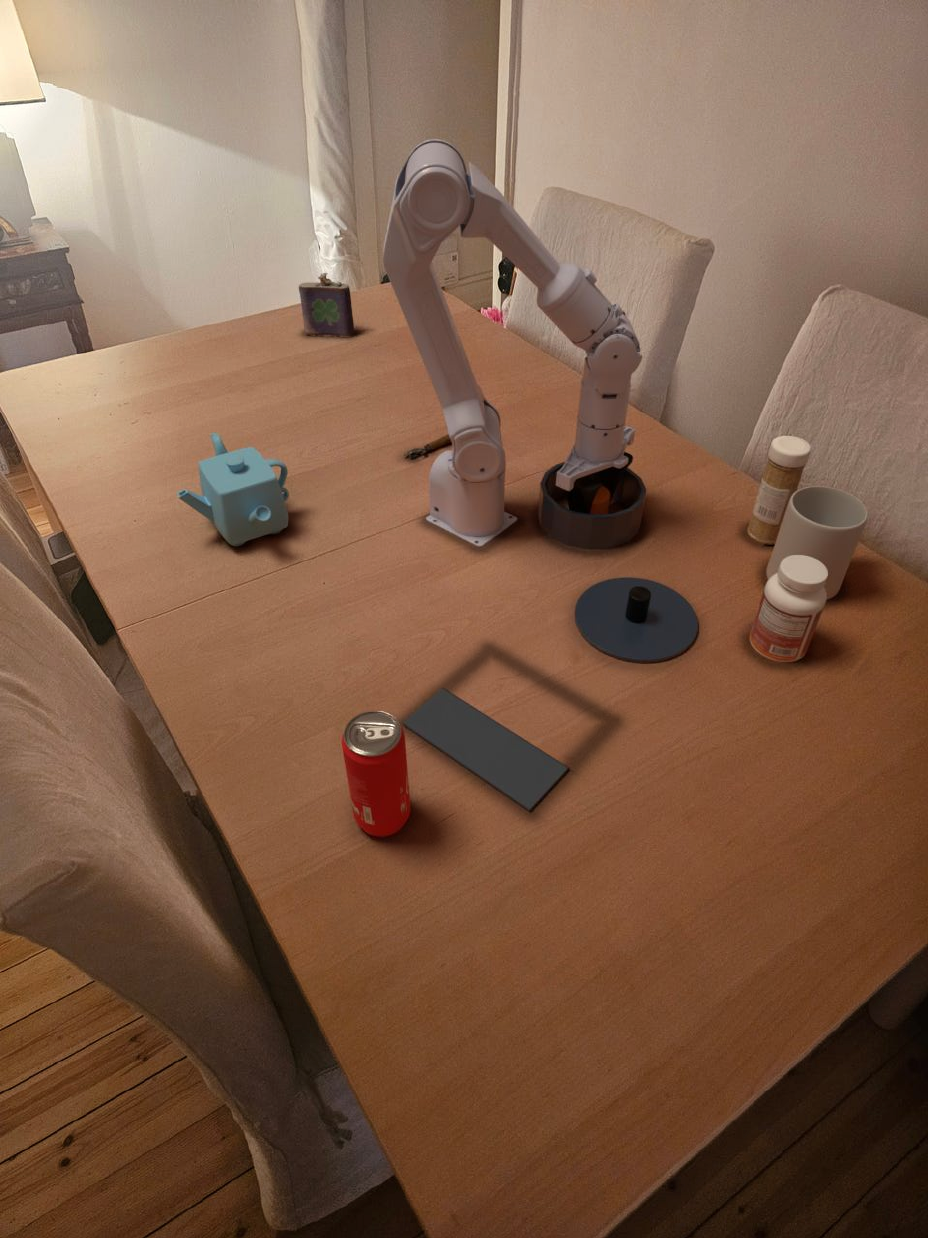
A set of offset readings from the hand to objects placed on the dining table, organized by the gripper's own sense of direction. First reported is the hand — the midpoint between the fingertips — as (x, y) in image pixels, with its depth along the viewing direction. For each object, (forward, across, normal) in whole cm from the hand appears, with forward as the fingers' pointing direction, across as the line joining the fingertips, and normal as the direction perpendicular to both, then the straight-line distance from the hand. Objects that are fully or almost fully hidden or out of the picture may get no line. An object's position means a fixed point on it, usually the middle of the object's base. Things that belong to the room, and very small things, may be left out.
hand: (589, 511), depth 107 cm
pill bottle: (+2, -6, -29) cm, 30 cm away
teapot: (+2, -30, +34) cm, 45 cm away
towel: (+2, -34, -13) cm, 36 cm away
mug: (+2, +8, -27) cm, 28 cm away
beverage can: (+2, -50, -11) cm, 51 cm away
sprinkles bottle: (+2, +12, -19) cm, 23 cm away
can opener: (+2, 0, +28) cm, 28 cm away
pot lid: (+1, -13, -15) cm, 20 cm away
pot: (+2, 0, 0) cm, 2 cm away
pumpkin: (+1, 0, 0) cm, 1 cm away
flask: (+2, +18, +69) cm, 71 cm away
